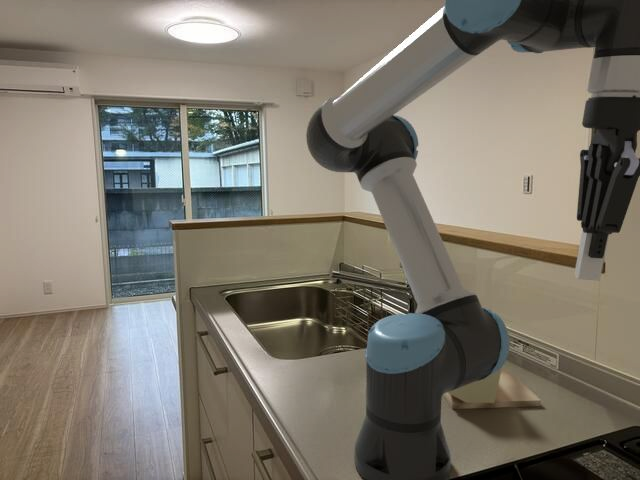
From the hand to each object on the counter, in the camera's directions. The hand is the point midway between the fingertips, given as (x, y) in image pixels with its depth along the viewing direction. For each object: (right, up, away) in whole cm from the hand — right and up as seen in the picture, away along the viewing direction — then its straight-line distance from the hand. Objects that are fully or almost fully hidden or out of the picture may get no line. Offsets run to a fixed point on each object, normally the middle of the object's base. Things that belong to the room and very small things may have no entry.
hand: (586, 277), depth 64 cm
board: (-2, -27, +38) cm, 46 cm away
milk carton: (-6, -23, +28) cm, 37 cm away
